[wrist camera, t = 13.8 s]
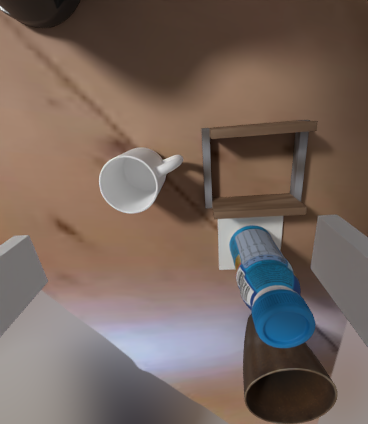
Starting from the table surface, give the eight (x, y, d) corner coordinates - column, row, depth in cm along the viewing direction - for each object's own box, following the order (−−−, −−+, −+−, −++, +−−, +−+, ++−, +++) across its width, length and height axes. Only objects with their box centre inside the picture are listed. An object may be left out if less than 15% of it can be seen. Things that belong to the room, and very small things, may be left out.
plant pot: (312, 314, 52) (358, 393, 37) (269, 352, 57) (294, 435, 42) (259, 284, 49) (285, 355, 35) (218, 326, 55) (226, 404, 40)
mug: (175, 130, 39) (168, 134, 29) (193, 175, 41) (192, 193, 32) (113, 157, 41) (87, 169, 31) (134, 198, 44) (116, 221, 34)
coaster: (217, 215, 44) (217, 216, 43) (282, 211, 43) (283, 212, 42) (219, 268, 48) (219, 269, 48) (278, 265, 47) (279, 267, 47)
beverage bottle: (252, 214, 43) (293, 287, 24) (281, 242, 45) (340, 330, 26) (219, 242, 45) (233, 328, 27) (247, 268, 47) (280, 364, 29)
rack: (201, 128, 38) (202, 130, 32) (304, 119, 37) (326, 120, 30) (205, 204, 43) (206, 219, 37) (296, 199, 42) (314, 214, 35)
